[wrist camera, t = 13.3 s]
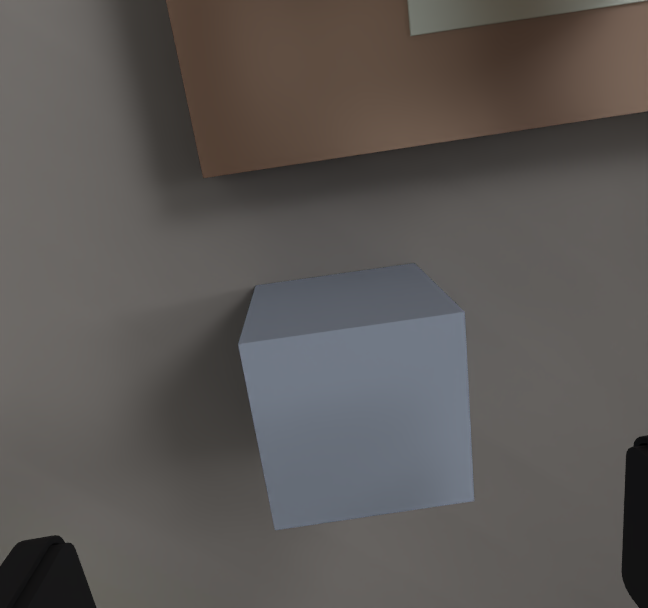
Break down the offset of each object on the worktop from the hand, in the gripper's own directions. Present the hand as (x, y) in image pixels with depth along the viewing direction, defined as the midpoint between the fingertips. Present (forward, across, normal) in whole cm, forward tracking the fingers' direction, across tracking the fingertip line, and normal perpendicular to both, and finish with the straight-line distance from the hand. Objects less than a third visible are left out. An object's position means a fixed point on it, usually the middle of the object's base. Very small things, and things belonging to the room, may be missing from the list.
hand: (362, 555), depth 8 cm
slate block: (+8, -1, 0) cm, 9 cm away
